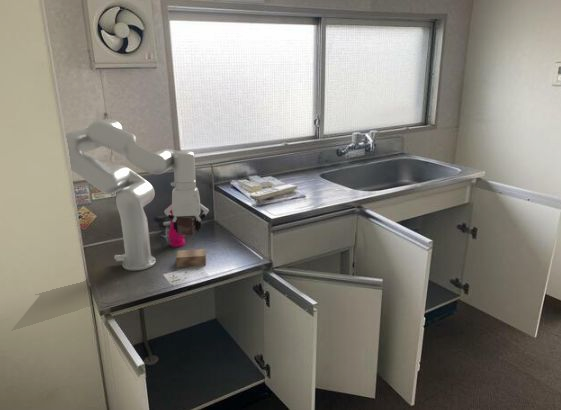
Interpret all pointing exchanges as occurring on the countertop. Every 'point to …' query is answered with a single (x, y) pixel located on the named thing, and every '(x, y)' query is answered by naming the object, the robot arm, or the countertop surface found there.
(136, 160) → the robot arm
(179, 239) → the pepper mill
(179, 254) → the light brown rectangular block
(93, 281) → the countertop surface
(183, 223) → the box
